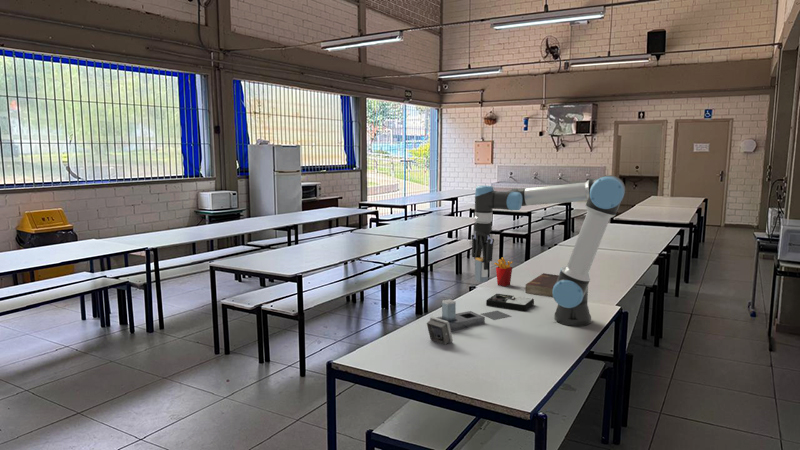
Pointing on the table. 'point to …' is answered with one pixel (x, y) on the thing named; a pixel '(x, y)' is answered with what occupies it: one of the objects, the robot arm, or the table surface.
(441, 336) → the electrical switch
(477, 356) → the table surface
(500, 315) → the mat
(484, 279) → the plug
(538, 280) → the hardback book
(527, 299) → the multimeter
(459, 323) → the grey block holder
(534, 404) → the table surface
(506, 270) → the french fries
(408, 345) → the table surface
